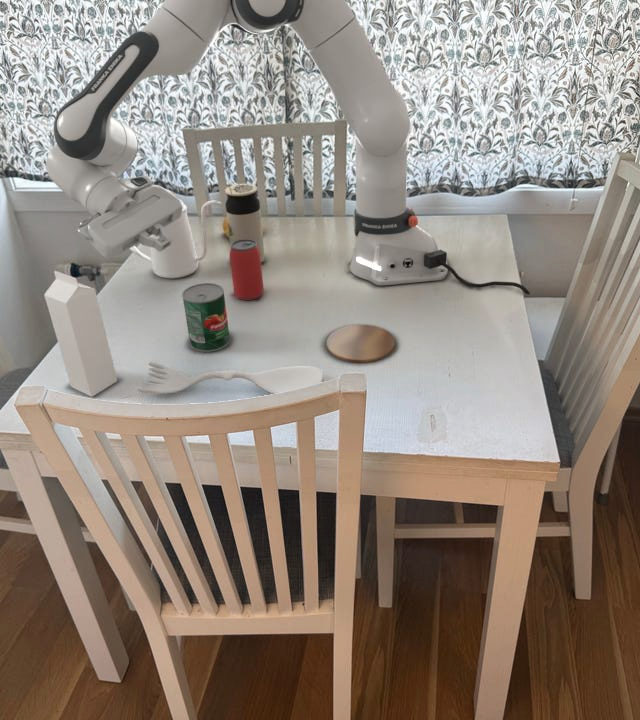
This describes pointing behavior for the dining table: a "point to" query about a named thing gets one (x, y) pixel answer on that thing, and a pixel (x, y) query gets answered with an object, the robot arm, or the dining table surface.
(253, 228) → the travel mug
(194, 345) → the canned tomato
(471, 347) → the dining table surface
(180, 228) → the coffeepot
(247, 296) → the beer can
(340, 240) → the dining table surface
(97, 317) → the milk
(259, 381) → the white serving fork
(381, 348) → the wooden trivet
